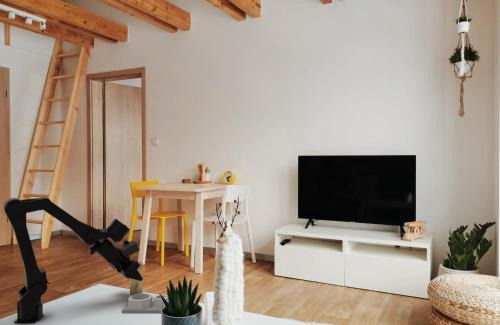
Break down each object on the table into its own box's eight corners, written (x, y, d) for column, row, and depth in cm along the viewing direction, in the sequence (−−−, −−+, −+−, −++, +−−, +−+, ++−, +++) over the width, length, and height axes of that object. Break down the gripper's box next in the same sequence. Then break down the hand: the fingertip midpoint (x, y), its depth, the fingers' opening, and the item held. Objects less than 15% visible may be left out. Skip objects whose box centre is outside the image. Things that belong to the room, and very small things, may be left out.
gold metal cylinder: (127, 299, 153) (127, 264, 153) (131, 294, 157) (131, 261, 157) (140, 299, 153) (140, 264, 153) (144, 294, 157) (144, 261, 157)
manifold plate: (121, 313, 140) (121, 301, 140) (130, 303, 149) (129, 292, 149) (169, 313, 140) (169, 301, 140) (175, 304, 149) (175, 292, 149)
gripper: (134, 238, 145) (164, 266, 151) (117, 231, 160) (145, 256, 167) (111, 264, 141) (143, 291, 147) (96, 254, 156) (125, 279, 162)
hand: (139, 278), depth 156 cm, fingers closed on gold metal cylinder, 4 cm apart
